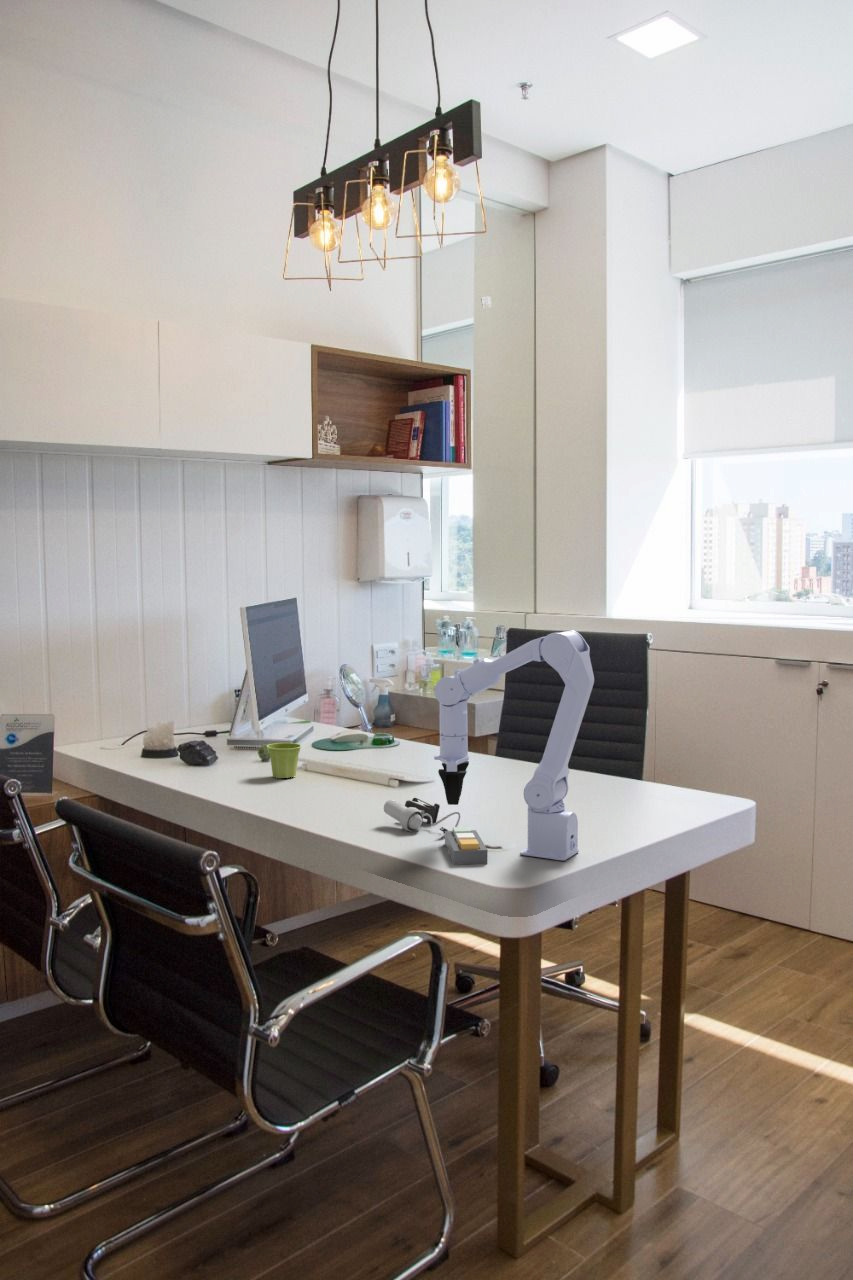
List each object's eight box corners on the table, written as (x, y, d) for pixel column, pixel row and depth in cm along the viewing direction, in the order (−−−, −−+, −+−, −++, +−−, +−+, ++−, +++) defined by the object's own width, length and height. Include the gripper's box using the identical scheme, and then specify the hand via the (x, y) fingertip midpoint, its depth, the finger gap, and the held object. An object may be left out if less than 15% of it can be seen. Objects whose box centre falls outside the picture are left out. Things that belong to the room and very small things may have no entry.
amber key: (459, 848, 204) (459, 839, 204) (476, 848, 205) (476, 839, 205) (461, 853, 201) (461, 844, 201) (478, 852, 201) (478, 843, 201)
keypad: (444, 843, 215) (444, 831, 215) (475, 842, 216) (475, 830, 216) (454, 864, 200) (454, 850, 200) (487, 863, 201) (487, 849, 201)
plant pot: (306, 774, 289) (305, 743, 288) (296, 781, 280) (295, 748, 279) (273, 773, 290) (273, 742, 290) (262, 780, 281) (261, 747, 281)
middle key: (455, 842, 209) (455, 833, 209) (472, 841, 210) (472, 832, 210) (458, 846, 206) (457, 837, 206) (475, 846, 206) (475, 837, 206)
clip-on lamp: (469, 844, 226) (413, 812, 239) (476, 816, 225) (420, 786, 238) (430, 849, 218) (374, 816, 231) (437, 821, 217) (381, 788, 230)
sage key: (452, 835, 214) (452, 827, 214) (469, 835, 215) (469, 826, 215) (454, 840, 211) (454, 831, 211) (471, 839, 211) (471, 830, 211)
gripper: (436, 729, 222) (437, 792, 223) (431, 740, 208) (431, 807, 209) (470, 729, 222) (470, 793, 223) (466, 740, 207) (467, 808, 208)
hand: (454, 800), depth 216 cm, fingers open, 7 cm apart
